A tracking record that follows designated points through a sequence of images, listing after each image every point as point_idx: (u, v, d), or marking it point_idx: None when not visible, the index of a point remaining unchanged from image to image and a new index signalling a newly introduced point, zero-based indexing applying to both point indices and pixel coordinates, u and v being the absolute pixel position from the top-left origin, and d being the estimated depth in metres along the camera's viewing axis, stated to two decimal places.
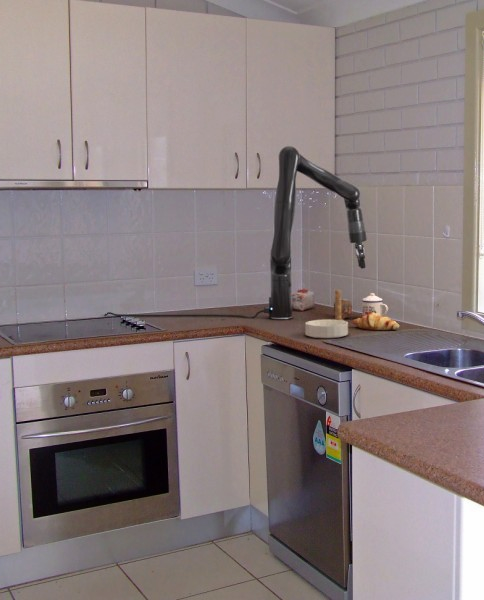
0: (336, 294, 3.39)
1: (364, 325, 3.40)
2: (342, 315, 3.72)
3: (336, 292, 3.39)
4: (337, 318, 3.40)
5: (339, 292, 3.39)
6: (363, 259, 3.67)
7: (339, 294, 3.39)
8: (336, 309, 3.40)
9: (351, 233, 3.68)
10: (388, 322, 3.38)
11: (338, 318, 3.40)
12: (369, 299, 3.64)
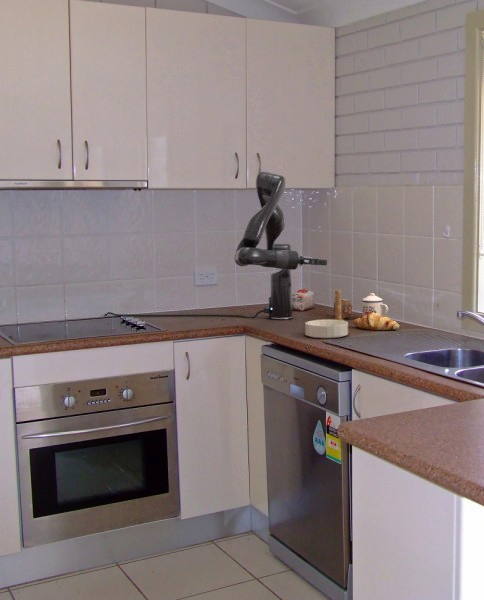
0: (336, 294, 3.39)
1: (364, 325, 3.40)
2: (342, 315, 3.72)
3: (336, 292, 3.39)
4: (337, 318, 3.40)
5: (339, 292, 3.39)
6: None
7: (339, 294, 3.39)
8: (336, 309, 3.40)
9: None
10: (388, 322, 3.38)
11: (338, 318, 3.40)
12: (369, 299, 3.64)
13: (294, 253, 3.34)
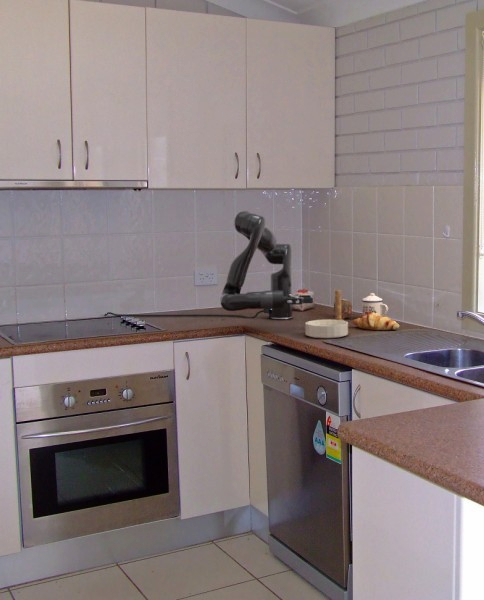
0: (336, 294, 3.39)
1: (364, 325, 3.40)
2: (342, 315, 3.72)
3: (336, 292, 3.39)
4: (337, 318, 3.40)
5: (339, 292, 3.39)
6: None
7: (339, 294, 3.39)
8: (336, 309, 3.40)
9: None
10: (388, 322, 3.38)
11: (338, 318, 3.40)
12: (369, 299, 3.64)
13: (279, 293, 3.33)
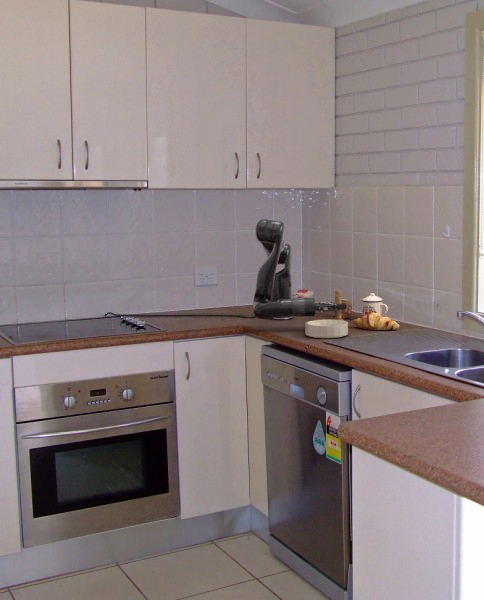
0: (336, 294, 3.39)
1: (364, 325, 3.40)
2: (342, 315, 3.72)
3: (336, 292, 3.39)
4: (337, 318, 3.40)
5: (339, 292, 3.39)
6: None
7: (339, 294, 3.39)
8: None
9: None
10: (388, 322, 3.38)
11: (338, 318, 3.40)
12: (369, 299, 3.64)
13: (310, 301, 3.36)
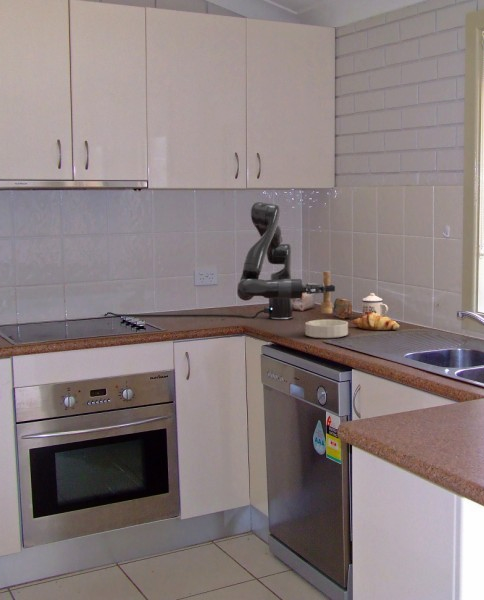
0: (324, 275, 3.23)
1: (364, 325, 3.40)
2: (342, 315, 3.72)
3: (324, 273, 3.23)
4: (325, 300, 3.24)
5: (328, 273, 3.23)
6: None
7: (328, 275, 3.23)
8: None
9: None
10: (388, 322, 3.38)
11: (326, 300, 3.24)
12: (369, 299, 3.64)
13: (297, 282, 3.20)
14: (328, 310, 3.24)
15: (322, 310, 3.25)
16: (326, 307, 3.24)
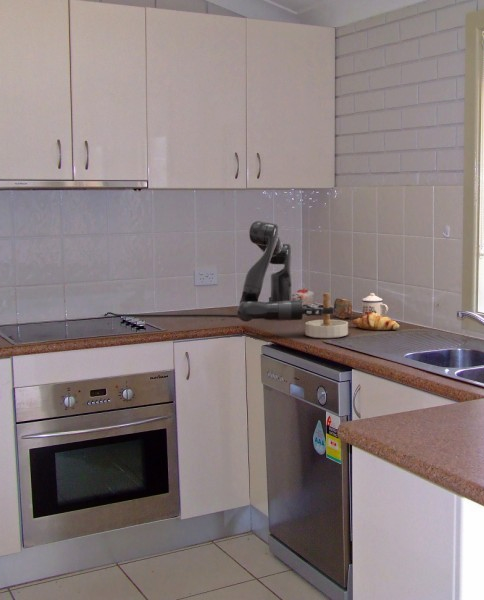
0: (324, 297, 3.24)
1: (364, 325, 3.40)
2: (342, 315, 3.72)
3: (324, 295, 3.24)
4: (325, 322, 3.25)
5: (327, 295, 3.24)
6: None
7: (327, 297, 3.24)
8: None
9: None
10: (388, 322, 3.38)
11: (326, 322, 3.25)
12: (369, 299, 3.64)
13: (297, 304, 3.21)
14: None
15: None
16: None
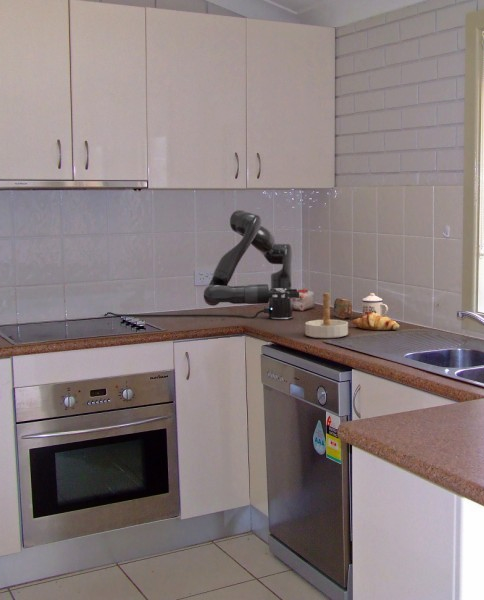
0: (324, 297, 3.24)
1: (364, 325, 3.40)
2: (342, 315, 3.72)
3: (324, 295, 3.24)
4: (325, 322, 3.25)
5: (327, 295, 3.24)
6: None
7: (327, 297, 3.24)
8: (324, 313, 3.25)
9: None
10: (388, 322, 3.38)
11: (326, 322, 3.25)
12: (369, 299, 3.64)
13: (264, 287, 3.22)
14: None
15: None
16: None
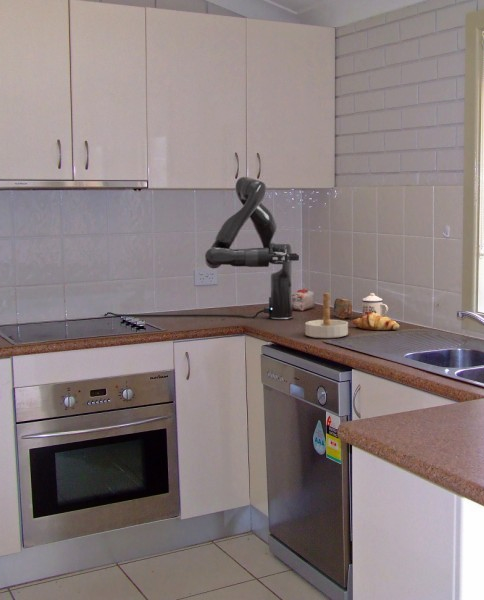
0: (324, 297, 3.24)
1: (364, 325, 3.40)
2: (342, 315, 3.72)
3: (324, 295, 3.24)
4: (325, 322, 3.25)
5: (327, 295, 3.24)
6: None
7: (327, 297, 3.24)
8: (324, 313, 3.25)
9: None
10: (388, 322, 3.38)
11: (326, 322, 3.25)
12: (369, 299, 3.64)
13: (264, 250, 3.28)
14: None
15: None
16: None
